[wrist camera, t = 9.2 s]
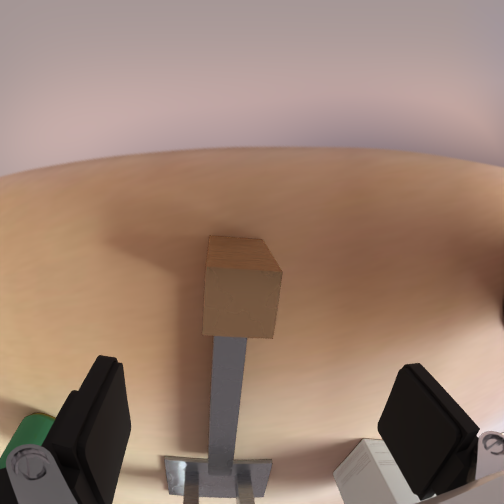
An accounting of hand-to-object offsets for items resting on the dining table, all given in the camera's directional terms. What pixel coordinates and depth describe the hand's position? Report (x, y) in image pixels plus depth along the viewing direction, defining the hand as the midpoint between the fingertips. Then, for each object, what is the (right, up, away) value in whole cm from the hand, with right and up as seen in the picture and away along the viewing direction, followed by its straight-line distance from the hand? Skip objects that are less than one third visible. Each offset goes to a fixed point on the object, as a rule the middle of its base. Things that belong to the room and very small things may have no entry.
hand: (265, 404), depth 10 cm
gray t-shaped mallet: (-3, -6, +18) cm, 19 cm away
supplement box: (+14, -21, +24) cm, 35 cm away
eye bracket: (-5, -22, +22) cm, 31 cm away
